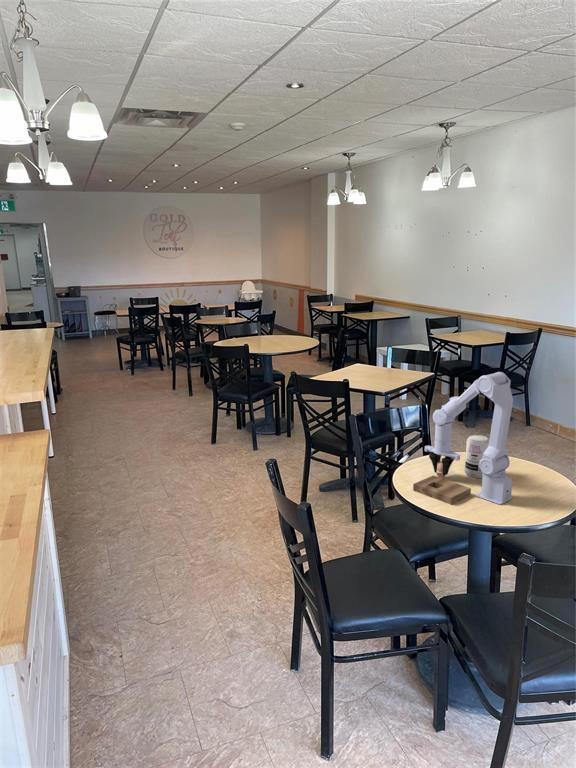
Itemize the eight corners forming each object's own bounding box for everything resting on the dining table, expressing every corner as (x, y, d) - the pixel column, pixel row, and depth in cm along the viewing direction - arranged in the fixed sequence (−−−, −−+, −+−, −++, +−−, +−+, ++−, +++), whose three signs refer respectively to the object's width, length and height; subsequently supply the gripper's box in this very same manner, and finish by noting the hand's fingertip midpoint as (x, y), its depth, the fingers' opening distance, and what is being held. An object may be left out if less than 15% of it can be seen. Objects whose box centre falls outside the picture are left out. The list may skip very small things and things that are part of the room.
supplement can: (483, 470, 217) (486, 434, 214) (489, 479, 209) (491, 441, 206) (462, 470, 218) (465, 434, 215) (467, 478, 210) (469, 441, 207)
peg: (447, 477, 211) (447, 462, 209) (441, 479, 209) (442, 464, 207) (439, 474, 213) (440, 460, 212) (434, 477, 211) (435, 462, 210)
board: (470, 494, 196) (470, 488, 195) (451, 504, 188) (451, 497, 188) (432, 481, 208) (433, 475, 207) (413, 490, 200) (413, 483, 200)
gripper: (465, 441, 205) (463, 475, 208) (432, 432, 215) (431, 465, 218) (454, 446, 200) (452, 480, 203) (421, 436, 211) (420, 470, 214)
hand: (441, 473), depth 211 cm, fingers closed on peg, 3 cm apart
